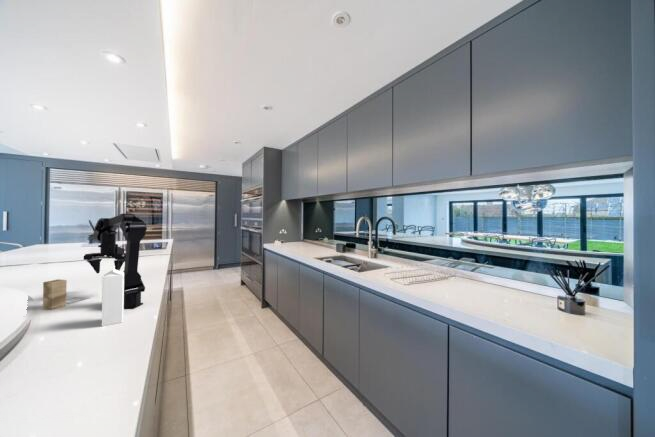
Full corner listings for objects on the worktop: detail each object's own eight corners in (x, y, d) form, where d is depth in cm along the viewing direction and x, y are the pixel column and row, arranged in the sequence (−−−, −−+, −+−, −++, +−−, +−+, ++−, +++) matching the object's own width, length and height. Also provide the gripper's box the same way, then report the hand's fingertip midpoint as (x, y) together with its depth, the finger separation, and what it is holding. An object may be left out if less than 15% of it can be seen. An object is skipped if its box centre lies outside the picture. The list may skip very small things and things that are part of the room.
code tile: (90, 299, 120) (90, 298, 120) (68, 305, 111) (68, 304, 111) (74, 298, 121) (74, 296, 121) (51, 304, 112) (51, 303, 112)
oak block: (66, 307, 109) (66, 279, 109) (51, 311, 104) (52, 282, 104) (57, 306, 110) (57, 279, 110) (42, 310, 105) (43, 282, 105)
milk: (101, 326, 90) (101, 268, 90) (104, 321, 95) (104, 266, 95) (122, 322, 94) (123, 267, 94) (124, 317, 98) (124, 264, 98)
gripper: (138, 241, 130) (138, 269, 130) (102, 241, 128) (101, 269, 128) (123, 243, 119) (122, 274, 119) (82, 243, 117) (82, 274, 117)
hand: (107, 273), depth 121 cm, fingers open, 9 cm apart
